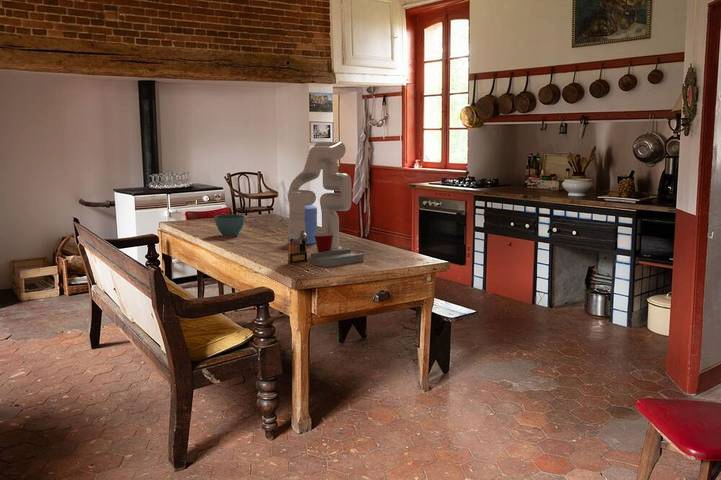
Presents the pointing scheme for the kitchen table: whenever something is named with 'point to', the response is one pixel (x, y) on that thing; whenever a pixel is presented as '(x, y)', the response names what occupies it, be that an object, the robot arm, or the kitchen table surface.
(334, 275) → the kitchen table surface
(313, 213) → the water jug
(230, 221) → the plant pot
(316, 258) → the grey tray
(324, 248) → the plastic cup
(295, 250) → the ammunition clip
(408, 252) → the kitchen table surface
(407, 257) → the kitchen table surface
